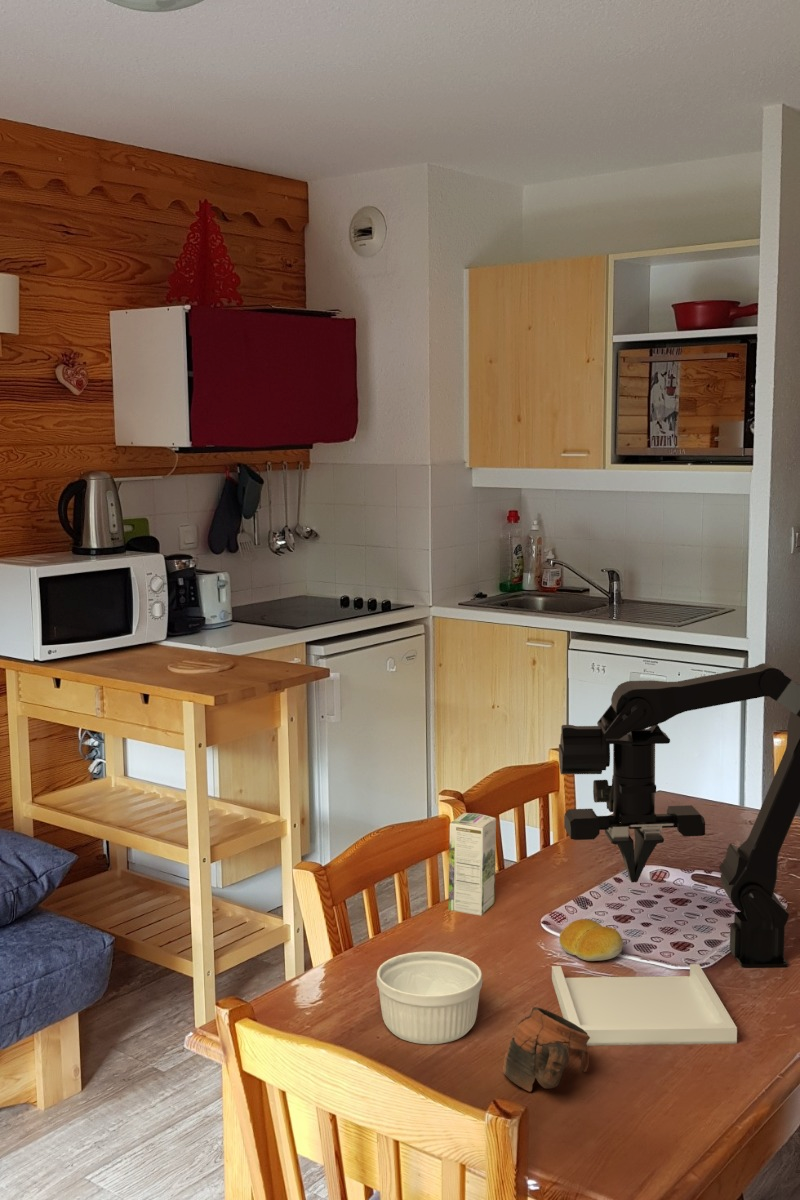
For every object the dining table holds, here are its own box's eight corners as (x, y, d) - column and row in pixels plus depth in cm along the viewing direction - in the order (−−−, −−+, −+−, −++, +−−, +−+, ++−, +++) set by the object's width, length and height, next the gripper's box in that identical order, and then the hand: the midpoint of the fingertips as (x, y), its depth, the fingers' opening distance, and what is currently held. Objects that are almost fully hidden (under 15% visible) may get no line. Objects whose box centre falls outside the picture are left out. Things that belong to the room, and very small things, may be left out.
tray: (698, 978, 163) (698, 964, 163) (736, 1043, 145) (737, 1028, 145) (551, 980, 163) (551, 966, 162) (571, 1045, 145) (572, 1030, 145)
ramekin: (457, 994, 159) (457, 944, 158) (499, 1039, 147) (500, 985, 146) (363, 1010, 155) (362, 959, 154) (398, 1059, 142) (398, 1003, 141)
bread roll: (597, 967, 165) (596, 940, 165) (550, 949, 172) (549, 923, 172) (636, 950, 170) (635, 923, 170) (589, 933, 177) (588, 907, 177)
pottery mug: (489, 1060, 142) (517, 995, 143) (559, 1092, 142) (587, 1026, 144) (511, 1092, 130) (542, 1020, 131) (588, 1127, 131) (618, 1055, 132)
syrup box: (461, 898, 192) (461, 811, 190) (496, 904, 190) (496, 815, 188) (448, 911, 187) (447, 821, 185) (483, 917, 185) (483, 826, 183)
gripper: (684, 756, 175) (683, 859, 177) (557, 760, 174) (557, 863, 176) (706, 777, 164) (705, 887, 166) (571, 781, 163) (571, 891, 165)
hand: (633, 881), depth 168 cm, fingers closed
